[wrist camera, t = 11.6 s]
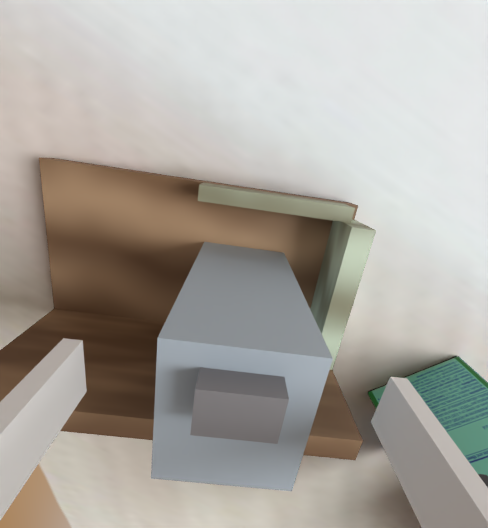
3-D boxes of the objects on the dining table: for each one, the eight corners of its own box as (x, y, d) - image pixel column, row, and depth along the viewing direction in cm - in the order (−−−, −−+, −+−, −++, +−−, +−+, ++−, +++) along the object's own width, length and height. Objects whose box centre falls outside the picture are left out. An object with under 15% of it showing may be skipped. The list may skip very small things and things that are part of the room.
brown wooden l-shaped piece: (53, 158, 20) (-134, 153, 10) (350, 202, 21) (445, 237, 11) (66, 315, 24) (-55, 419, 14) (311, 344, 25) (355, 460, 16)
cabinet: (204, 241, 20) (147, 357, 8) (284, 252, 21) (342, 379, 9) (196, 322, 23) (143, 506, 11) (267, 331, 23) (295, 519, 11)
